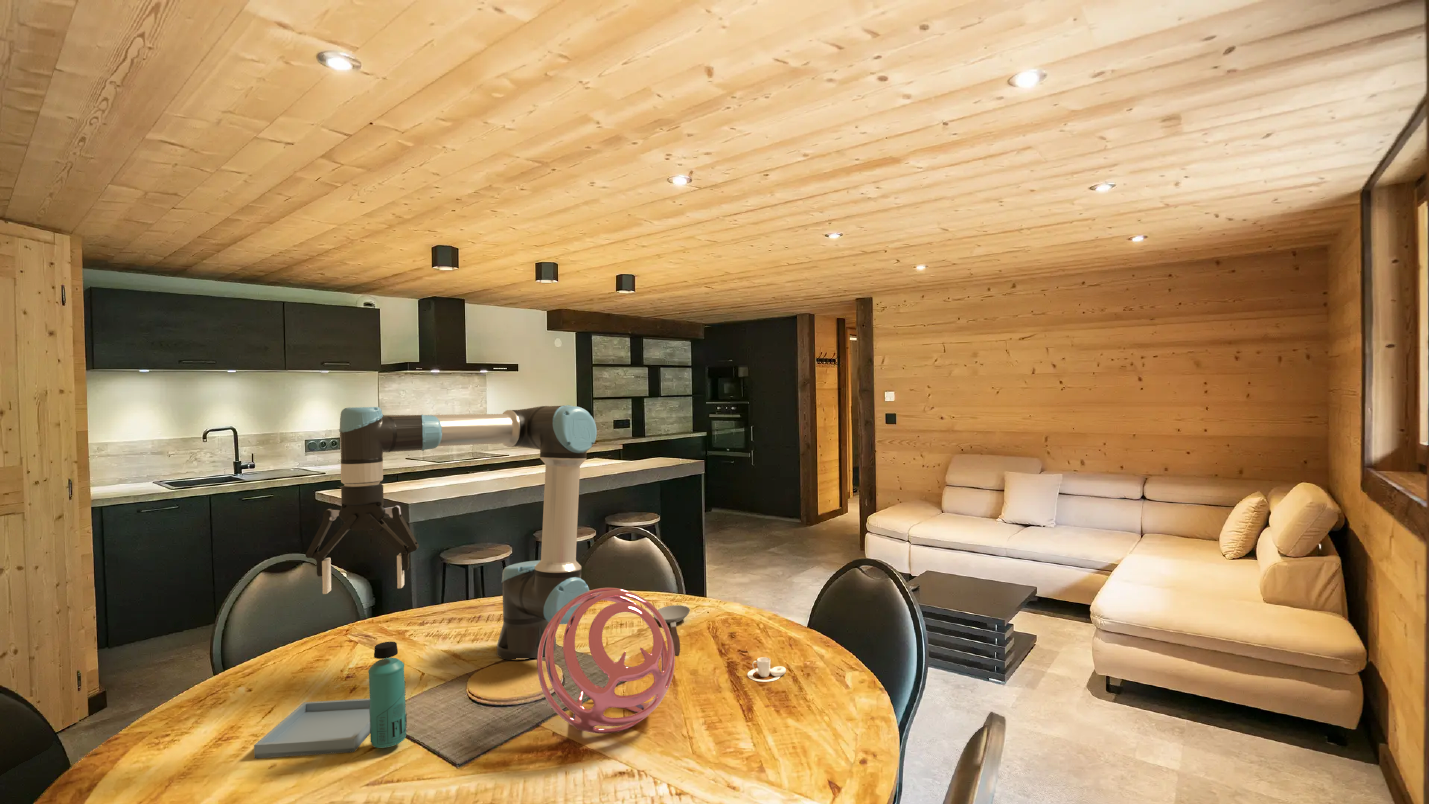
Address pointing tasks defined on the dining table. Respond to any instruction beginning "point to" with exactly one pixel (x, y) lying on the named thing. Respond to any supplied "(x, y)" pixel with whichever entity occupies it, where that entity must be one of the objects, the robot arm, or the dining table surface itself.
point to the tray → (318, 729)
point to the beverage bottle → (387, 697)
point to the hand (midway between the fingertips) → (364, 589)
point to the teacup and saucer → (766, 670)
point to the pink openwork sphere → (606, 664)
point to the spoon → (674, 621)
